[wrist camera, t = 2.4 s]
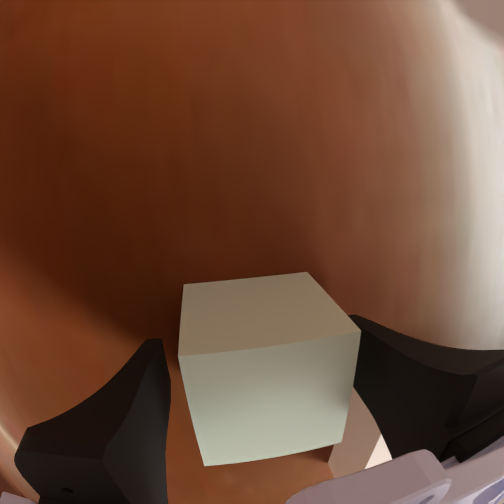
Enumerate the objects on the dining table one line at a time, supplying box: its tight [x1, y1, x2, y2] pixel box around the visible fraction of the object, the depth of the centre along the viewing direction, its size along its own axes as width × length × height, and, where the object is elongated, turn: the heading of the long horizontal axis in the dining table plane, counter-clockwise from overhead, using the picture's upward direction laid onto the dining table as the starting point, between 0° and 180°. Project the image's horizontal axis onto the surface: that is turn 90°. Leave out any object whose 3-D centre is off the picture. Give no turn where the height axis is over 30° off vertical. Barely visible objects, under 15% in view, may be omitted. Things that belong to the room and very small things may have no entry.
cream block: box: [328, 387, 392, 479], centre depth 15 cm, size 8×8×4 cm
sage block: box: [178, 272, 361, 466], centre depth 11 cm, size 5×5×5 cm
